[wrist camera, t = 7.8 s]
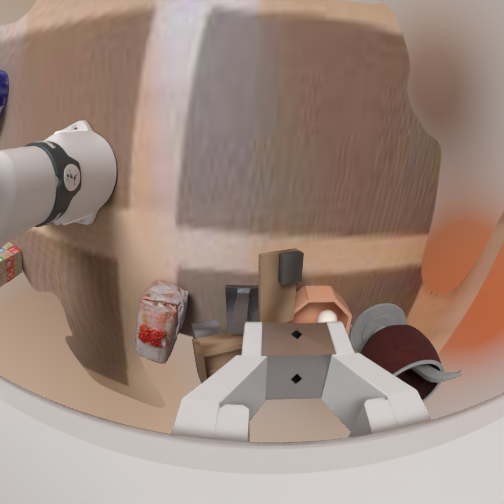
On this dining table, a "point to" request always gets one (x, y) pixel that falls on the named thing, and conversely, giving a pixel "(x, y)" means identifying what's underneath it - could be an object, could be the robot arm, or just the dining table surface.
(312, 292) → the octagonal bowl
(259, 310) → the tipping chute
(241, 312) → the chute stand
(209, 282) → the dining table surface
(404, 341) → the mate gourd
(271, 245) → the dining table surface
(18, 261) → the stack of blocks
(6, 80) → the dog bowl
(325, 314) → the ball
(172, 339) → the food item
